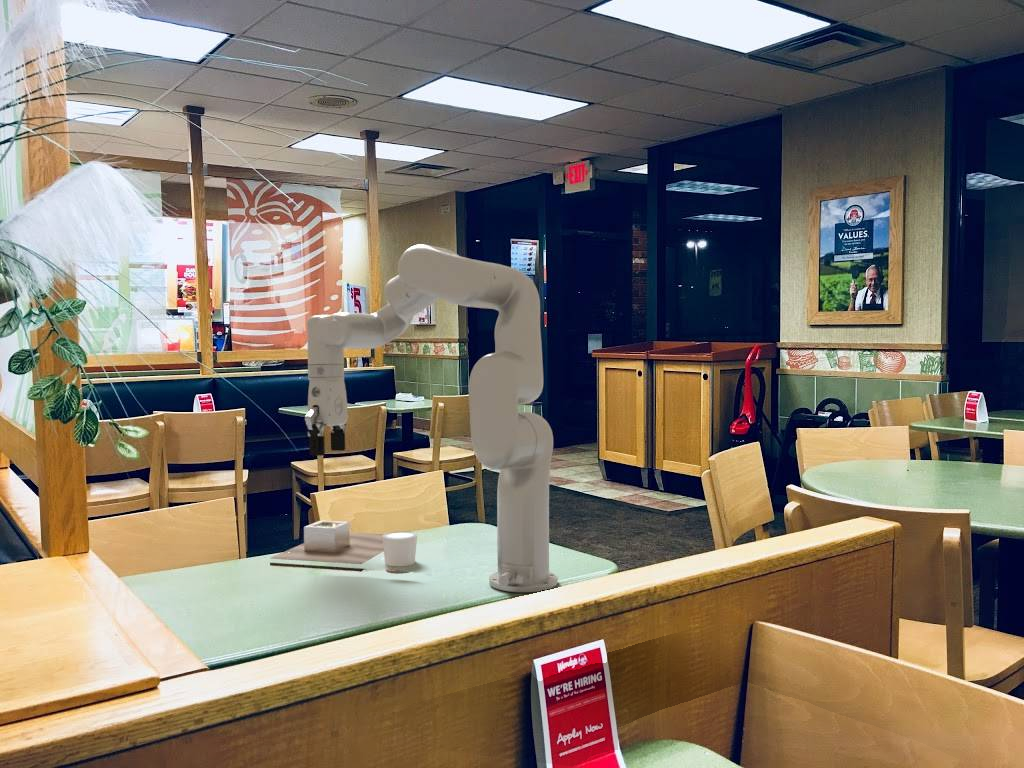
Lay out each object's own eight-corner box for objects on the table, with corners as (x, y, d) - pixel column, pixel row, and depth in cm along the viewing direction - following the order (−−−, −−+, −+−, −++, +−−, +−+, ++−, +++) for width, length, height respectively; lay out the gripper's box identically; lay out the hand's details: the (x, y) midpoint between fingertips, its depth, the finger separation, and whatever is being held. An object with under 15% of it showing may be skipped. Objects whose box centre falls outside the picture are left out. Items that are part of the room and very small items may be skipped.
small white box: (334, 552, 164) (334, 528, 164) (304, 550, 166) (303, 526, 166) (349, 544, 171) (349, 521, 171) (320, 543, 173) (319, 520, 173)
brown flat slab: (360, 571, 155) (360, 563, 155) (269, 565, 160) (269, 558, 160) (410, 542, 180) (410, 535, 180) (330, 537, 185) (330, 531, 185)
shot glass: (421, 565, 159) (420, 531, 159) (413, 574, 152) (413, 538, 152) (387, 565, 160) (387, 530, 160) (378, 574, 153) (378, 538, 153)
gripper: (323, 373, 160) (325, 457, 160) (359, 372, 177) (360, 448, 177) (289, 373, 162) (291, 457, 162) (328, 373, 179) (330, 448, 179)
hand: (327, 452), depth 170 cm, fingers open, 9 cm apart
